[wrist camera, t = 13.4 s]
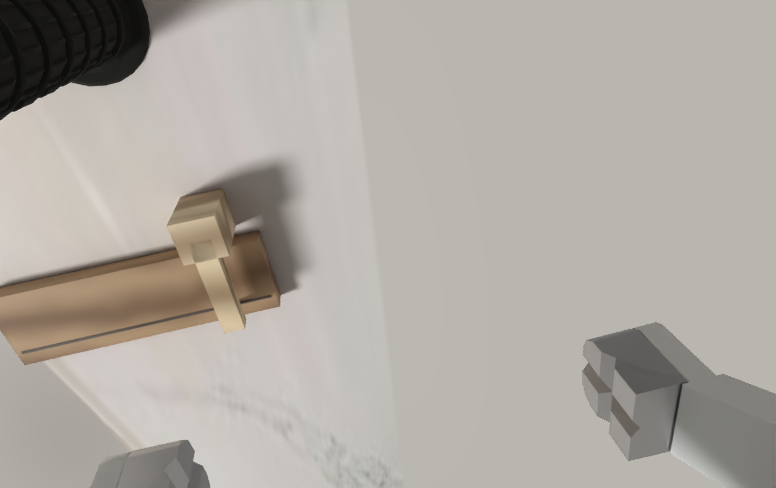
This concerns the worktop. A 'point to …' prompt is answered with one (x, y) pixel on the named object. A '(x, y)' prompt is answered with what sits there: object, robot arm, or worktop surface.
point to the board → (127, 301)
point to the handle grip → (67, 46)
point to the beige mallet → (209, 250)
